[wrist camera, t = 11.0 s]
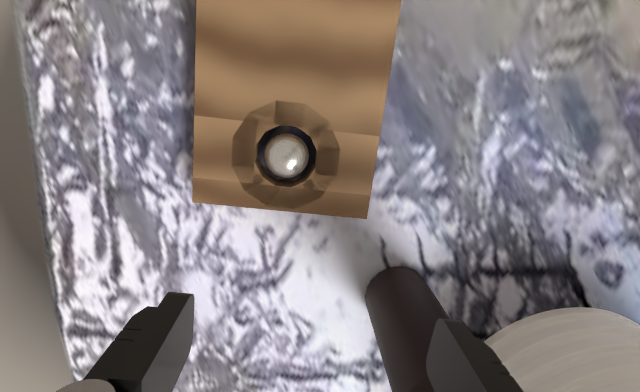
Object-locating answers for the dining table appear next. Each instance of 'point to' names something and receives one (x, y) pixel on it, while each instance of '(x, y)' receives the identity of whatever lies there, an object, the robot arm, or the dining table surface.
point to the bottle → (403, 326)
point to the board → (291, 99)
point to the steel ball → (286, 155)
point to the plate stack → (571, 351)
